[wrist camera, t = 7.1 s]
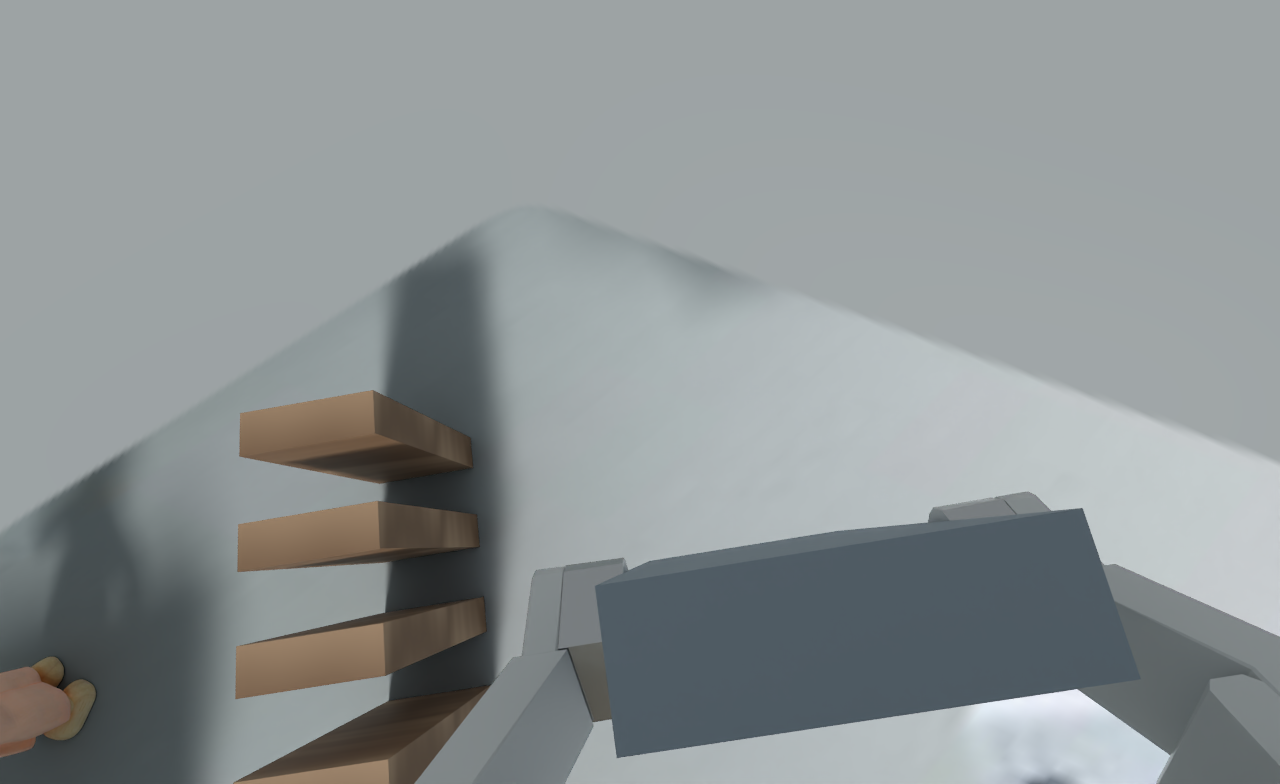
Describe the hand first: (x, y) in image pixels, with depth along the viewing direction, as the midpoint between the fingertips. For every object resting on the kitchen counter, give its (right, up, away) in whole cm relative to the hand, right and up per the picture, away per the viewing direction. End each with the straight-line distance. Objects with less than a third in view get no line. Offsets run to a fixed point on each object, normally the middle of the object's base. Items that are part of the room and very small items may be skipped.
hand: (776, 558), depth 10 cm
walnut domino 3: (-12, -8, +19) cm, 24 cm away
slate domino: (+1, -2, +6) cm, 6 cm away
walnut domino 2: (-13, -5, +20) cm, 24 cm away
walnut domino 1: (-14, -1, +21) cm, 25 cm away
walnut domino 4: (-12, -12, +18) cm, 25 cm away
